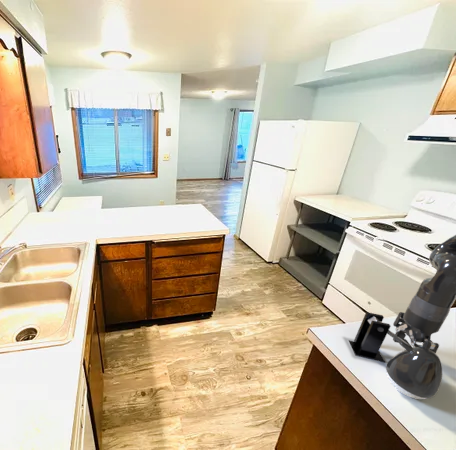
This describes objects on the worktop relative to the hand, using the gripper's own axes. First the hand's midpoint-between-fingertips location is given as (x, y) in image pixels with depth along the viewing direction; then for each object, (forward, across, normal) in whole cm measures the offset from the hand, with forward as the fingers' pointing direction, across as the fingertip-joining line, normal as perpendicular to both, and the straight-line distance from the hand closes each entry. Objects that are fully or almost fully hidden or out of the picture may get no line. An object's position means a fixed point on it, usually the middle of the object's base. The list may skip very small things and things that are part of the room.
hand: (404, 351), depth 77 cm
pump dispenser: (+3, -11, +5) cm, 12 cm away
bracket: (+3, 0, +10) cm, 11 cm away
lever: (-5, 0, +6) cm, 7 cm away
